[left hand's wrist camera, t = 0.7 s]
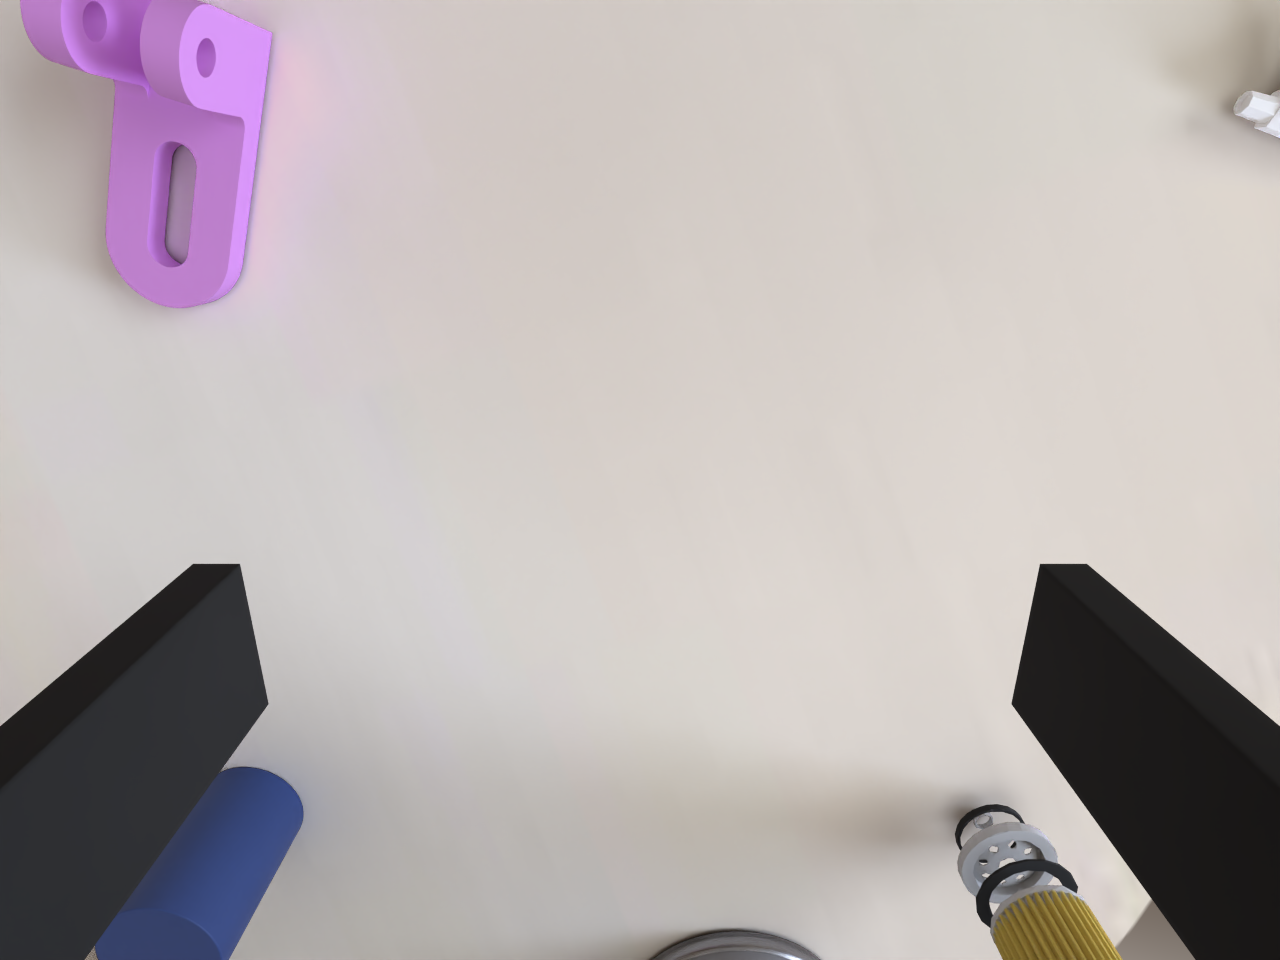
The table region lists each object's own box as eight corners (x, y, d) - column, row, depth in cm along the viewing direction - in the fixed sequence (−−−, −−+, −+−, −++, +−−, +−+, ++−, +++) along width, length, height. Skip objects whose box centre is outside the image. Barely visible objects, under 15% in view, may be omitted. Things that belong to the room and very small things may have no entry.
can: (185, 816, 49) (74, 966, 39) (228, 749, 47) (123, 889, 38) (275, 861, 50) (190, 1017, 41) (321, 798, 49) (243, 945, 39)
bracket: (143, -10, 33) (22, -62, 27) (272, 32, 34) (184, -8, 27) (120, 284, 38) (11, 302, 31) (235, 318, 38) (152, 342, 32)
